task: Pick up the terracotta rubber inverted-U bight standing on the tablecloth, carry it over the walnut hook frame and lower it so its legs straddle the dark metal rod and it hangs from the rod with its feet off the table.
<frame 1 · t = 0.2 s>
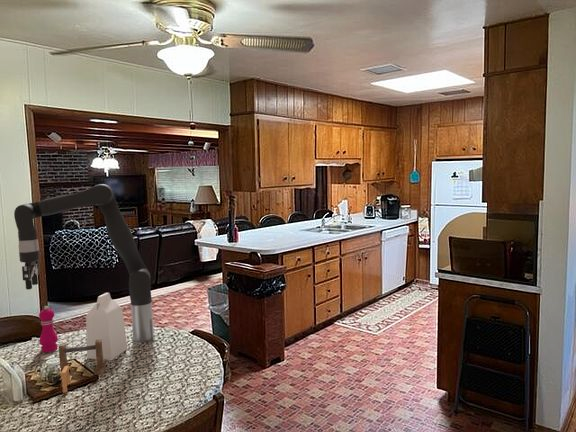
hand: (32, 286, 190), 29 cm above the table, tool pointing down, fingers open, 8 cm apart
pepper mill: (49, 350, 195), on the table
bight: (66, 388, 158), on the table
milk: (107, 353, 189), on the table
hook frame: (82, 372, 171), on the table
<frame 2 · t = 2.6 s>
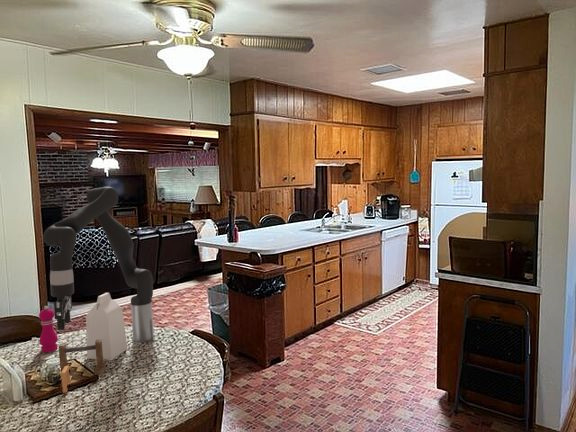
hand: (64, 325, 159), 22 cm above the table, tool pointing down, fingers open, 8 cm apart
nothing on the table moved.
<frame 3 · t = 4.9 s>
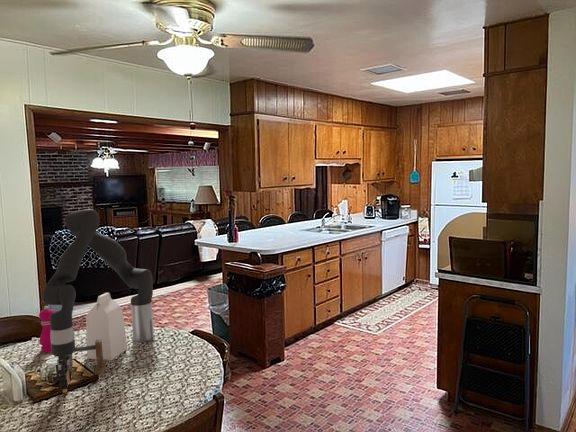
hand: (66, 384, 157), 2 cm above the table, tool pointing down, fingers closed on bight, 5 cm apart
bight: (66, 388, 158), on the table, touching gripper
everything else where it was.
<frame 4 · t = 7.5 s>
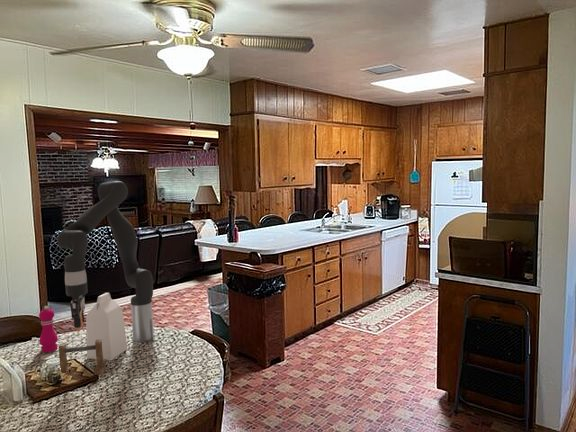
hand: (79, 324, 169), 19 cm above the table, tool pointing down, fingers closed on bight, 5 cm apart
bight: (79, 328, 169), point 18 cm above the table, touching gripper
everything else where it was.
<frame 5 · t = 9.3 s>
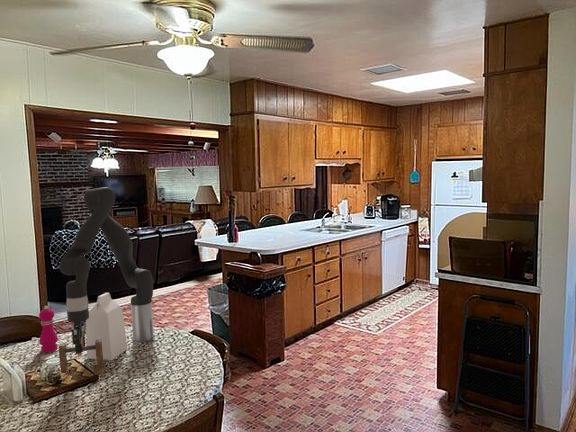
hand: (80, 349, 170), 9 cm above the table, tool pointing down, fingers closed on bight, 5 cm apart
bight: (80, 353, 170), point 8 cm above the table, touching gripper
everything else where it was.
when the fingers open (7 cm above the table, at t = 10.3 s): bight drops 1 cm, resting on hook frame.
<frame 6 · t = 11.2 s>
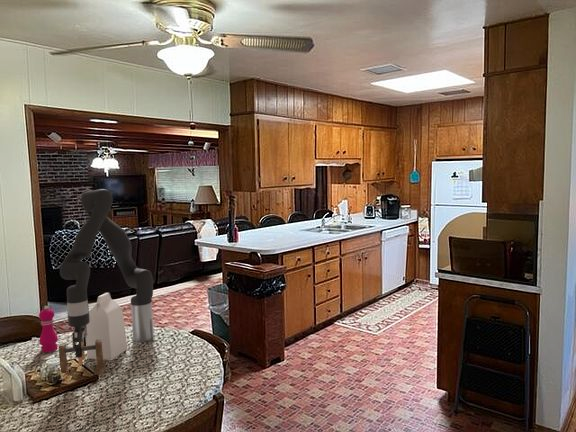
hand: (81, 352, 170), 8 cm above the table, tool pointing down, fingers open, 8 cm apart
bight: (81, 361, 171), point 4 cm above the table, touching hook frame
everything else where it was.
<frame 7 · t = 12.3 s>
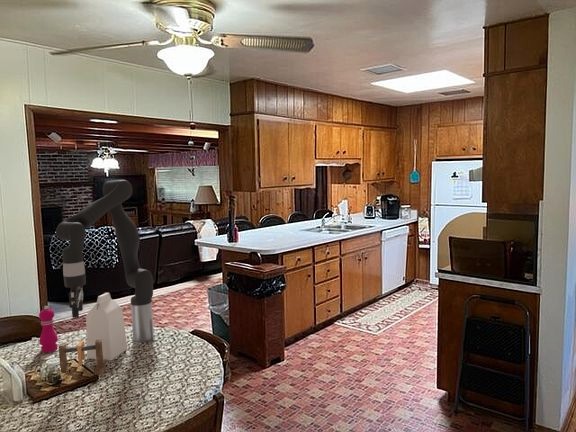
hand: (77, 314, 171), 23 cm above the table, tool pointing down, fingers open, 8 cm apart
nothing on the table moved.
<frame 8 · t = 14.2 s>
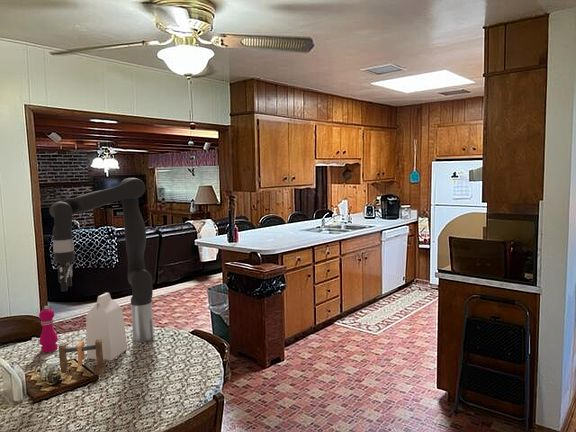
hand: (66, 288, 182), 30 cm above the table, tool pointing down, fingers open, 8 cm apart
nothing on the table moved.
at the end: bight 0.1 cm off-centre on the hook frame, point 4.3 cm above the hook frame's base; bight touching hook frame; the gripper is holding nothing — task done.
